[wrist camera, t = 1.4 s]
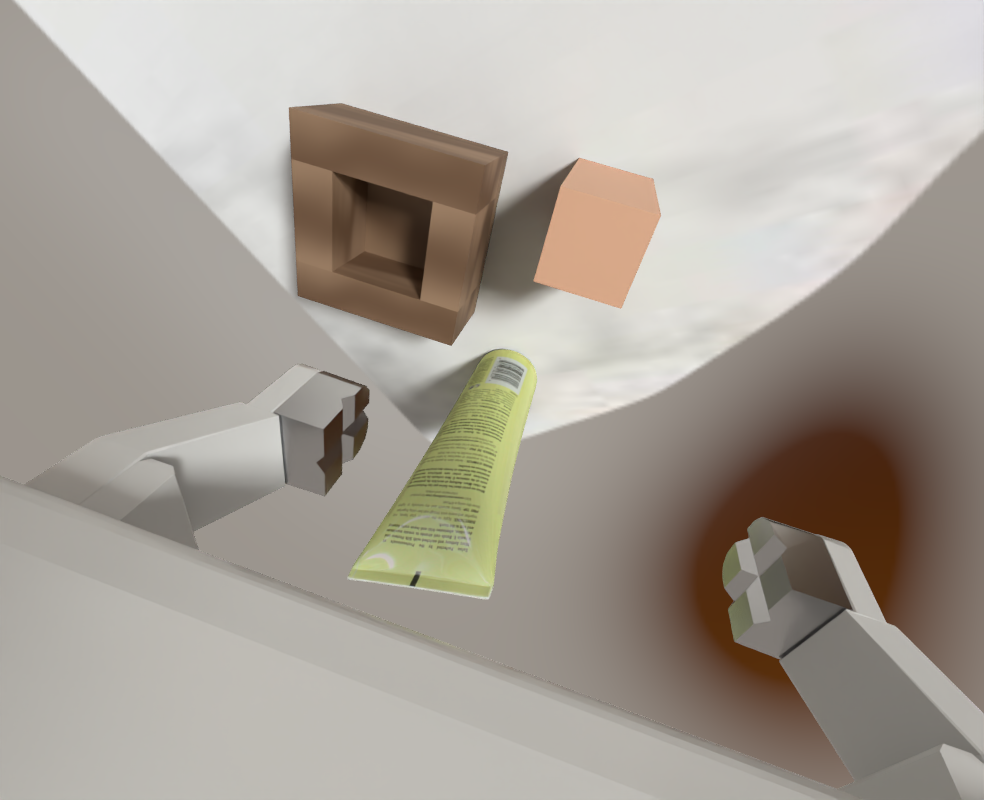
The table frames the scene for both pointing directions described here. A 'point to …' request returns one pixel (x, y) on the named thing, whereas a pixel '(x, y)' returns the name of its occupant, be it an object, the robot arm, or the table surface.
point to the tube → (457, 490)
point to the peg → (598, 232)
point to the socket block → (391, 217)
